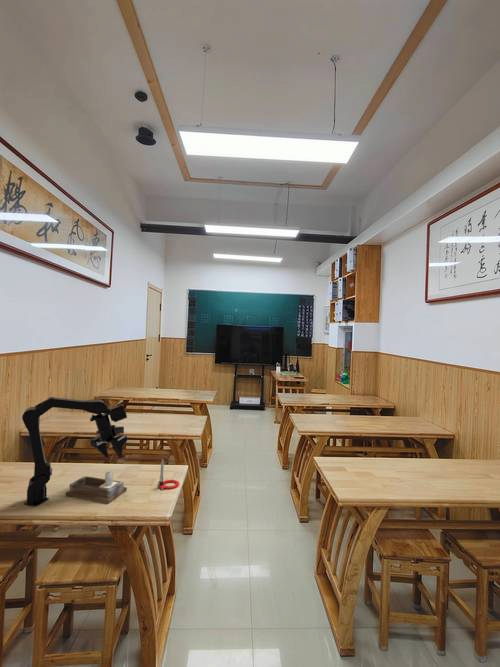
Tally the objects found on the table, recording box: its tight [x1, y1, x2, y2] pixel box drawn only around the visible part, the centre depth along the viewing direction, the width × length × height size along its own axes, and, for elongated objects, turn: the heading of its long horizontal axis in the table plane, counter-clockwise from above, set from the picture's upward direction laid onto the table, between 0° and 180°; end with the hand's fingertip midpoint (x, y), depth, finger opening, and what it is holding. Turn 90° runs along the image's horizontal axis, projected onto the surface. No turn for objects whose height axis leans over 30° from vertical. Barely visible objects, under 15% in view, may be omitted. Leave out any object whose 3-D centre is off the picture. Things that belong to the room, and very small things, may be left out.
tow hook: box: [157, 458, 180, 491], centre depth 154 cm, size 8×13×9 cm
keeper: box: [99, 471, 118, 489], centre depth 143 cm, size 6×5×8 cm
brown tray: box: [65, 475, 128, 505], centre depth 145 cm, size 12×22×4 cm, turn 75°
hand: (113, 457), depth 152 cm, fingers open, 9 cm apart
